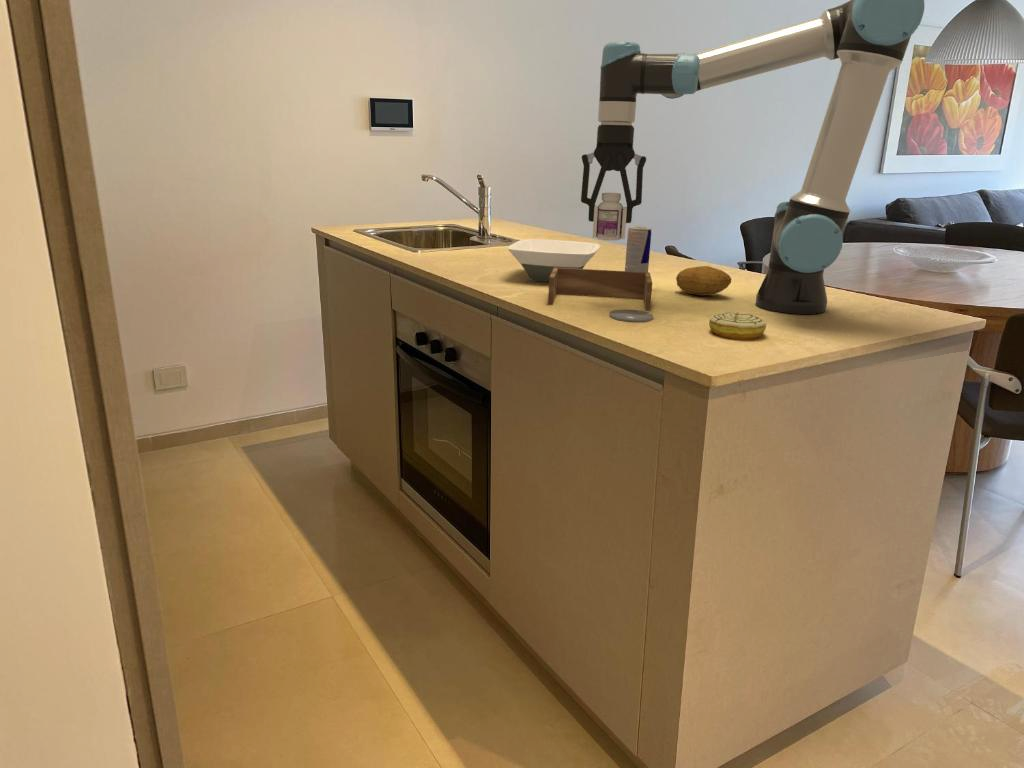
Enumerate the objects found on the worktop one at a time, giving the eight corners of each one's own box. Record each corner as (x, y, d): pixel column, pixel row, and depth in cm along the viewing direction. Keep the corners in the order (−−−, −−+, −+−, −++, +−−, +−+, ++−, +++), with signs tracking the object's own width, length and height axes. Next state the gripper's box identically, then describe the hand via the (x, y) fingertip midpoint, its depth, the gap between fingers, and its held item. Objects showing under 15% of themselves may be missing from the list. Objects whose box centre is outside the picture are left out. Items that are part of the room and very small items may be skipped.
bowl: (501, 283, 190) (502, 249, 188) (522, 268, 212) (523, 237, 209) (589, 290, 186) (591, 255, 183) (601, 274, 207) (604, 243, 204)
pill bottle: (605, 236, 170) (608, 191, 167) (625, 239, 166) (629, 193, 163) (591, 238, 166) (593, 192, 163) (611, 241, 162) (615, 194, 159)
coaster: (662, 318, 159) (662, 315, 159) (634, 324, 153) (634, 321, 153) (628, 310, 165) (628, 307, 165) (600, 315, 159) (600, 312, 159)
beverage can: (646, 291, 186) (651, 228, 181) (622, 290, 187) (627, 227, 182) (646, 287, 191) (652, 226, 186) (624, 286, 192) (628, 225, 187)
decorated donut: (766, 332, 152) (769, 313, 151) (762, 344, 142) (765, 324, 141) (712, 325, 155) (714, 307, 154) (704, 337, 146) (707, 317, 144)
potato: (691, 288, 192) (694, 261, 190) (736, 297, 183) (739, 268, 180) (668, 292, 186) (671, 264, 184) (713, 302, 177) (716, 272, 175)
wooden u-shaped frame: (552, 292, 181) (553, 267, 179) (647, 298, 178) (649, 272, 176) (547, 304, 168) (549, 277, 166) (649, 310, 165) (652, 283, 164)
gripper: (660, 125, 161) (651, 237, 168) (572, 123, 163) (567, 233, 171) (662, 125, 154) (652, 242, 161) (570, 122, 156) (564, 238, 164)
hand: (608, 237), depth 166 cm, fingers closed on pill bottle, 5 cm apart
